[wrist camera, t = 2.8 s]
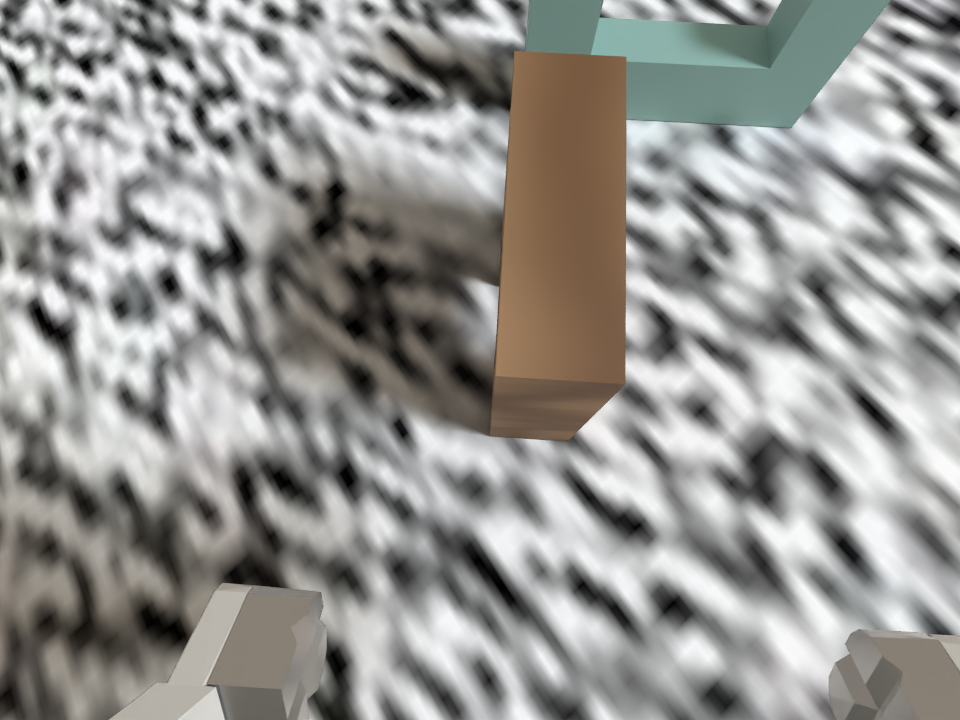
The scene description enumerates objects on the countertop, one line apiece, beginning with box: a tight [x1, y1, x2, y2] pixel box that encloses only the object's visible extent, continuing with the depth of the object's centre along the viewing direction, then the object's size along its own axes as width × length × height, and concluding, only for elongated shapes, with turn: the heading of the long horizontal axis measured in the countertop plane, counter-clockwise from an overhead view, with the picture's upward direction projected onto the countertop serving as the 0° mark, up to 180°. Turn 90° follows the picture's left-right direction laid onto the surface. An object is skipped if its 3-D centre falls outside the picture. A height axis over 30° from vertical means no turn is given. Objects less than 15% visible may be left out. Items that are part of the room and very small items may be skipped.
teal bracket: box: [525, 0, 891, 128], centre depth 25 cm, size 12×2×7 cm, turn 86°
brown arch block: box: [490, 51, 627, 441], centre depth 20 cm, size 3×9×10 cm, turn 176°
